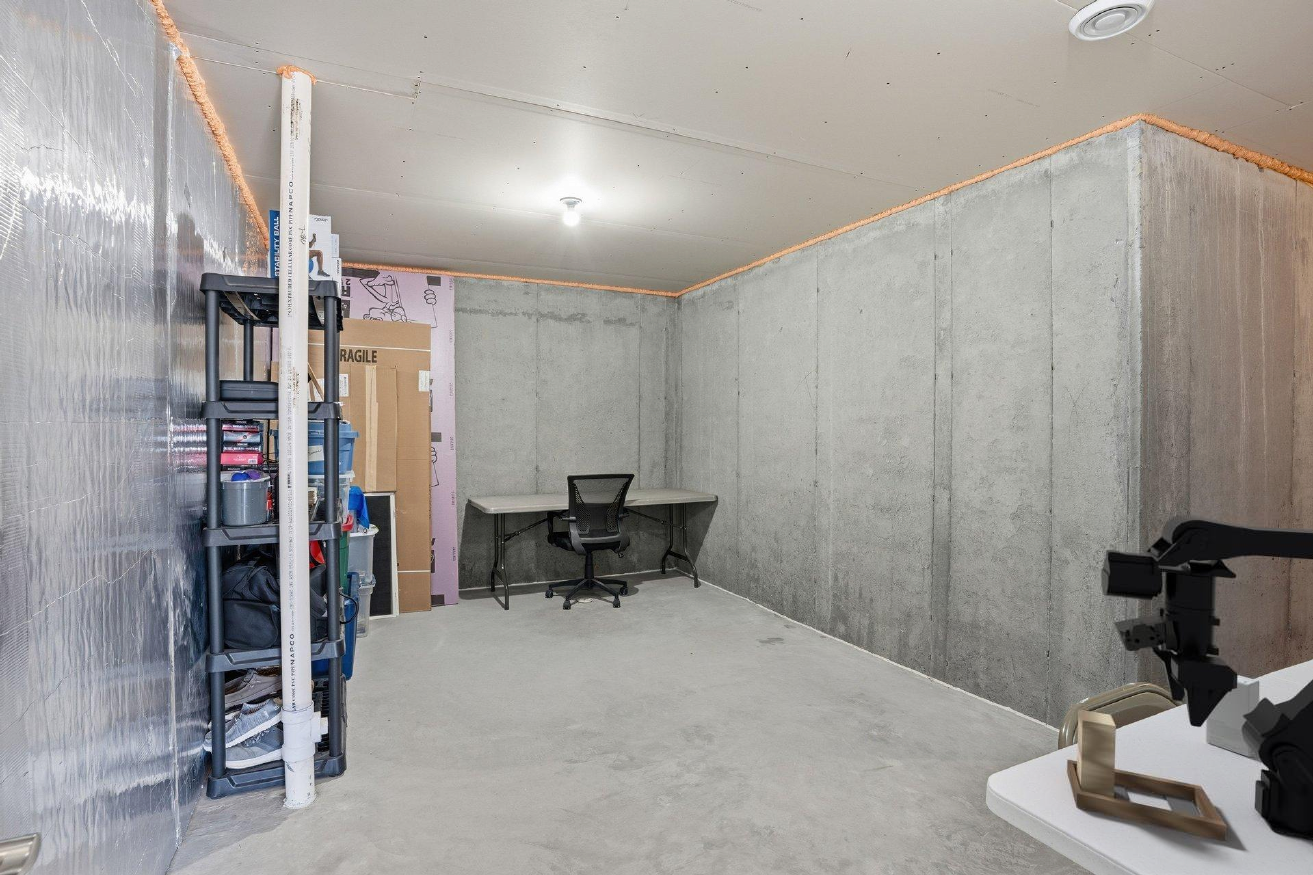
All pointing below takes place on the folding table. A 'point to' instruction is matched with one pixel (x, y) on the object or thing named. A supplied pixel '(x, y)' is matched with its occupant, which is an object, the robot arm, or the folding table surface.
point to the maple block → (1096, 753)
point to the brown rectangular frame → (1197, 825)
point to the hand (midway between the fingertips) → (1185, 712)
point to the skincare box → (1233, 717)
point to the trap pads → (1173, 801)
